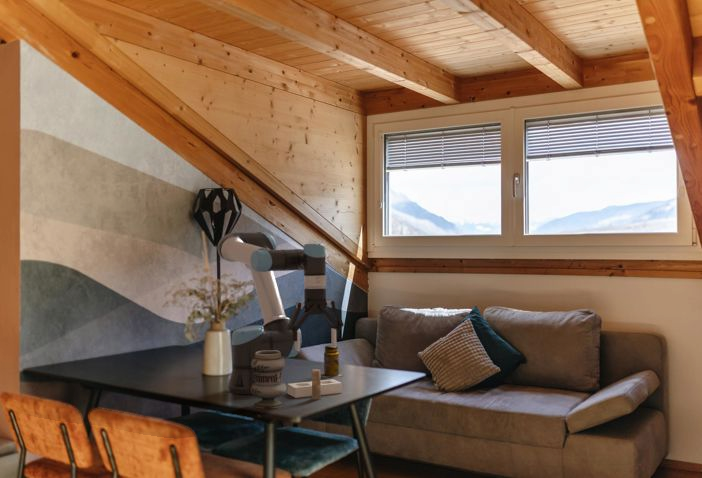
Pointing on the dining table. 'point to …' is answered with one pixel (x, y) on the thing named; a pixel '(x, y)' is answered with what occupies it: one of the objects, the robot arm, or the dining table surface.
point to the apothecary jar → (268, 378)
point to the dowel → (316, 384)
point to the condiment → (331, 362)
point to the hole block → (306, 388)
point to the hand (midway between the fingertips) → (316, 349)
